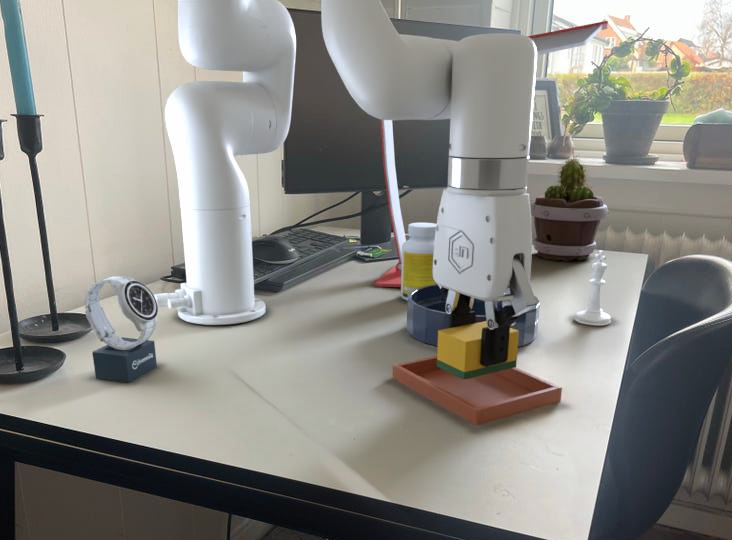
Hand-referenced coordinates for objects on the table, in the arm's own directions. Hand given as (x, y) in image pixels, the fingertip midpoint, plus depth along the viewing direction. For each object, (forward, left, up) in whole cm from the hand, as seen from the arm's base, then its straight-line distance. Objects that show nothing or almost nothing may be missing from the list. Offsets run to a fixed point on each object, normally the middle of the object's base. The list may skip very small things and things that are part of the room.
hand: (476, 354), depth 74 cm
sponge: (0, 0, -1) cm, 1 cm away
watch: (-30, +25, -5) cm, 39 cm away
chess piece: (+32, +12, -5) cm, 34 cm away
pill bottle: (+18, +34, -5) cm, 39 cm away
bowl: (+13, +16, -4) cm, 21 cm away
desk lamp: (+31, +40, -5) cm, 51 cm away
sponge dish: (0, 0, -4) cm, 4 cm away
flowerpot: (+62, +46, -5) cm, 77 cm away
